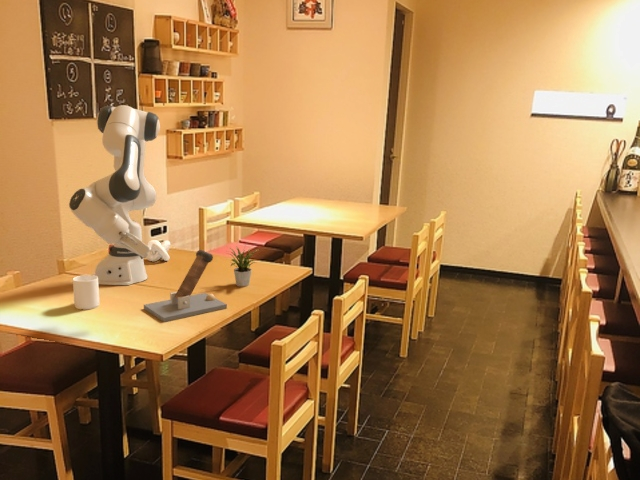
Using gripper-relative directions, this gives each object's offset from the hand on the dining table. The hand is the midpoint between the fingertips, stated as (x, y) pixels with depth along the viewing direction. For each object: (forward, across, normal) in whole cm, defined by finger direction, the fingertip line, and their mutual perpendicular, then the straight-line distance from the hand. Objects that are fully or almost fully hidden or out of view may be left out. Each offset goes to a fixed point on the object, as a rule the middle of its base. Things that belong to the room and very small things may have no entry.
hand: (144, 255), depth 198 cm
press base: (+25, 0, +5) cm, 26 cm away
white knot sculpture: (+41, +67, -10) cm, 79 cm away
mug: (+7, +23, +23) cm, 34 cm away
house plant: (+47, +14, -17) cm, 52 cm away
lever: (+21, 0, +4) cm, 22 cm away
